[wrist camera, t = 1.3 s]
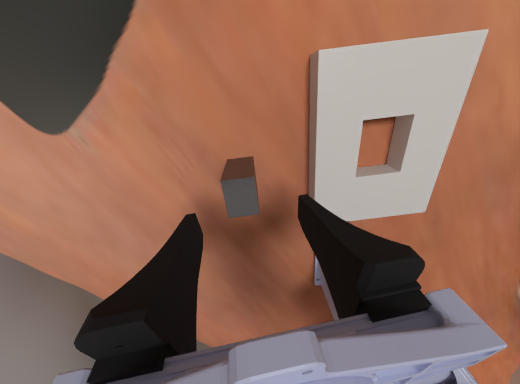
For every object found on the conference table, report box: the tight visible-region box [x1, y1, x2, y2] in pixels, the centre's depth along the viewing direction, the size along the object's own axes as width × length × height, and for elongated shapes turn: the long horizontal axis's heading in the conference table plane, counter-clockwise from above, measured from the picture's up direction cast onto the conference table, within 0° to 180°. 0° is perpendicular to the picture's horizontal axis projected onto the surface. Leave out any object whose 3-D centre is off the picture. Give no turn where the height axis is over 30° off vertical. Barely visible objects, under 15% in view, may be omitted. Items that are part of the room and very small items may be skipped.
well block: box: [309, 29, 489, 221], centre depth 21 cm, size 18×14×2 cm
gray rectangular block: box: [221, 156, 259, 218], centre depth 21 cm, size 4×3×6 cm
